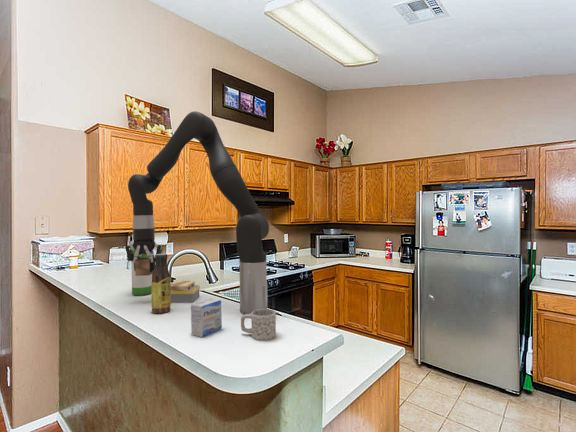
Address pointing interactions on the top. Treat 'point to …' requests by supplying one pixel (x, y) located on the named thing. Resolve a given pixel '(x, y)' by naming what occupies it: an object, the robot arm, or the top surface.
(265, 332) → the mug
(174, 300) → the yellow and gray block
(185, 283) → the pallet
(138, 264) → the crate
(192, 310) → the medicine box
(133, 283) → the wine bottle
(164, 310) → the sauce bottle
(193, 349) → the top surface
